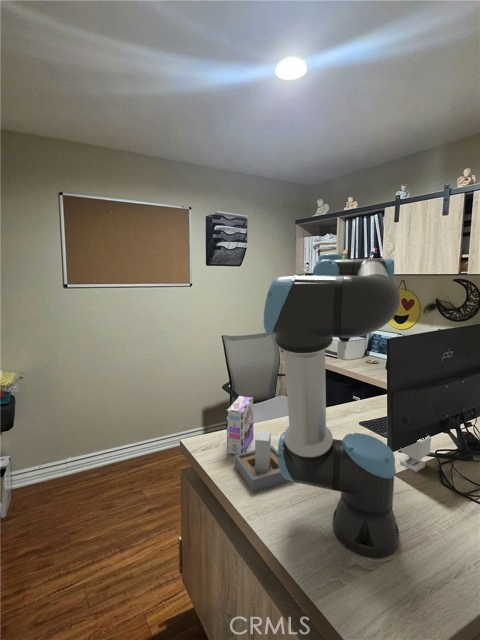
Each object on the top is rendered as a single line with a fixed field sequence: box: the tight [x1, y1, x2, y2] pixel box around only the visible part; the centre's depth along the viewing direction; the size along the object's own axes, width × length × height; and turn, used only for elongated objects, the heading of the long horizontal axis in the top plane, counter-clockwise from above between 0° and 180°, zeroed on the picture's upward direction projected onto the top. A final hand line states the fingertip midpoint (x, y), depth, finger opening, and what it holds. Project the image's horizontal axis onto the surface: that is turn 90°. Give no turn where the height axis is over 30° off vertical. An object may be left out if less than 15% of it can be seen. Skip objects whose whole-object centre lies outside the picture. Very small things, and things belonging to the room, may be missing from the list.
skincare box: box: [254, 430, 272, 474], centre depth 103 cm, size 6×4×12 cm
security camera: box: [399, 435, 432, 473], centre depth 107 cm, size 6×7×10 cm
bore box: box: [234, 445, 291, 493], centre depth 104 cm, size 14×14×4 cm
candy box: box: [226, 395, 254, 455], centre depth 119 cm, size 14×6×16 cm, turn 161°
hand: (327, 362), depth 113 cm, fingers open, 13 cm apart
